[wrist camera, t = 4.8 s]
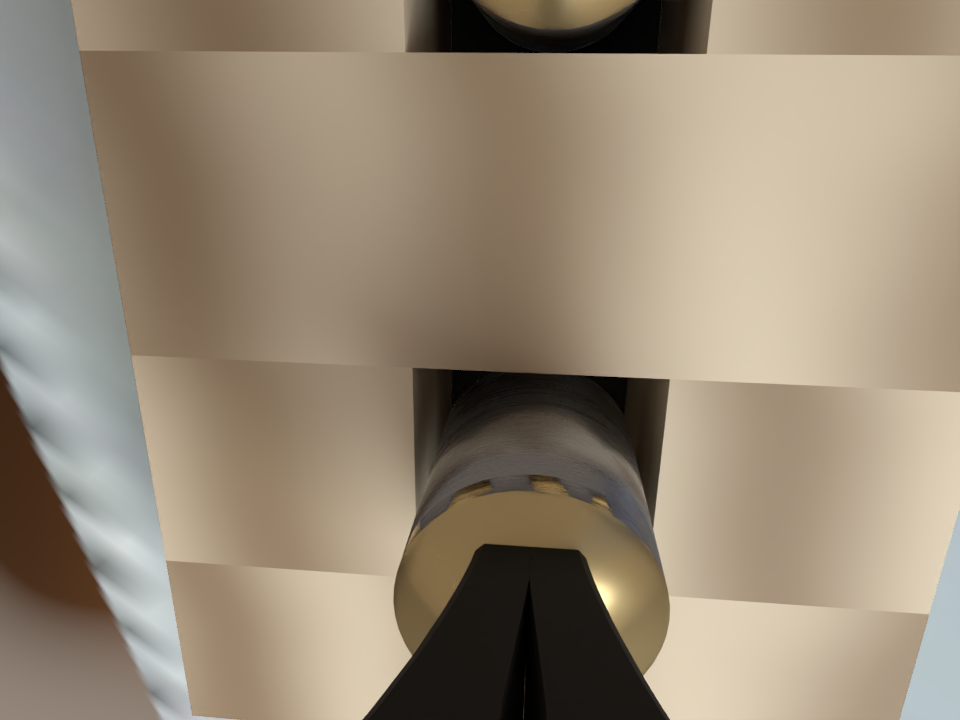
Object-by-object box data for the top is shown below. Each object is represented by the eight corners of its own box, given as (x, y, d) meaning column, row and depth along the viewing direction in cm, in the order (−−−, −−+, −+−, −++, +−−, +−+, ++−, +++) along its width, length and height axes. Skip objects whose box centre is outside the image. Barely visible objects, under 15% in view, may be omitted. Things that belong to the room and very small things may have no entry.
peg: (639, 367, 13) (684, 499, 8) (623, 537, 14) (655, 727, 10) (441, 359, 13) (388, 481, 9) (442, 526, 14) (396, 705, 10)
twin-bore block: (1018, -479, 11) (1363, -909, 6) (797, 605, 18) (882, 777, 14) (173, -432, 12) (-60, -766, 8) (278, 568, 19) (192, 715, 15)
